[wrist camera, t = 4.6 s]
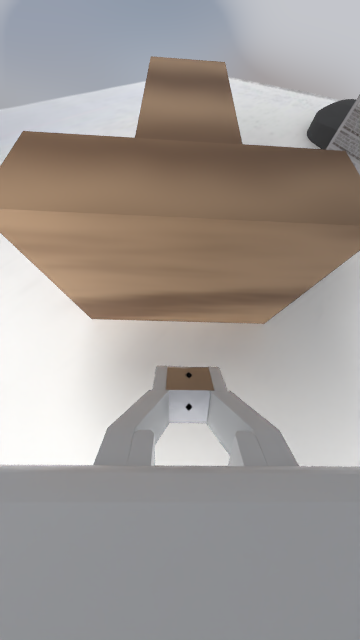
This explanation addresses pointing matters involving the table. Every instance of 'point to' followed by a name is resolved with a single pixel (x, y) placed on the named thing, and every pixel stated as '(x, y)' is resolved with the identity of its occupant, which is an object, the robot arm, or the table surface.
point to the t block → (180, 209)
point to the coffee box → (349, 135)
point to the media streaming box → (328, 122)
